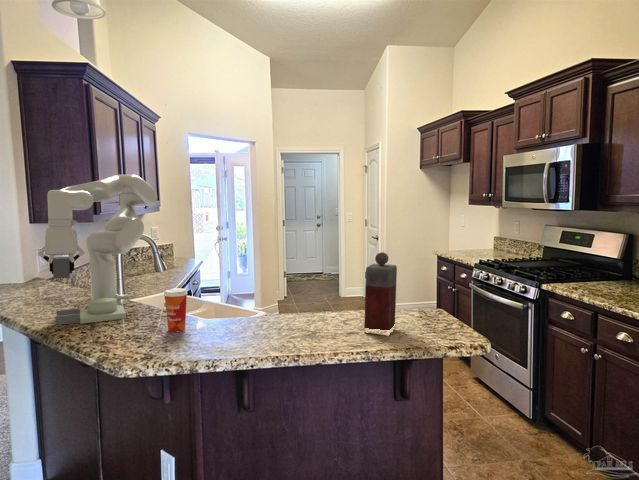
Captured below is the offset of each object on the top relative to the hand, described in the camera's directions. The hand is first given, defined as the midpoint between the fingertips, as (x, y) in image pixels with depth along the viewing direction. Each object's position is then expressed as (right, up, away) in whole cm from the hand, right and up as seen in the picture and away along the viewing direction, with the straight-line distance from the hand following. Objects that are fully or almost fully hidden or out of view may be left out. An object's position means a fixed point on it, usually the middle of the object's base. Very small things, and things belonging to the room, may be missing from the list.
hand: (62, 272), depth 153 cm
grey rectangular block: (0, -2, 0) cm, 2 cm away
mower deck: (+8, -17, +4) cm, 20 cm away
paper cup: (+45, -19, -9) cm, 50 cm away
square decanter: (+117, -20, -6) cm, 119 cm away
